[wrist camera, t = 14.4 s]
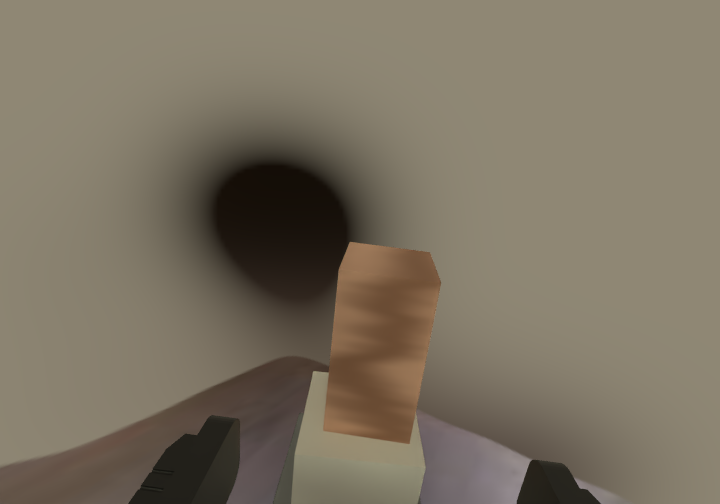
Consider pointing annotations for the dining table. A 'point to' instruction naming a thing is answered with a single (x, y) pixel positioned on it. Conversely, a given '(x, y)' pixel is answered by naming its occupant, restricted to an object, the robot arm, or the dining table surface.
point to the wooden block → (380, 341)
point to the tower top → (352, 462)
